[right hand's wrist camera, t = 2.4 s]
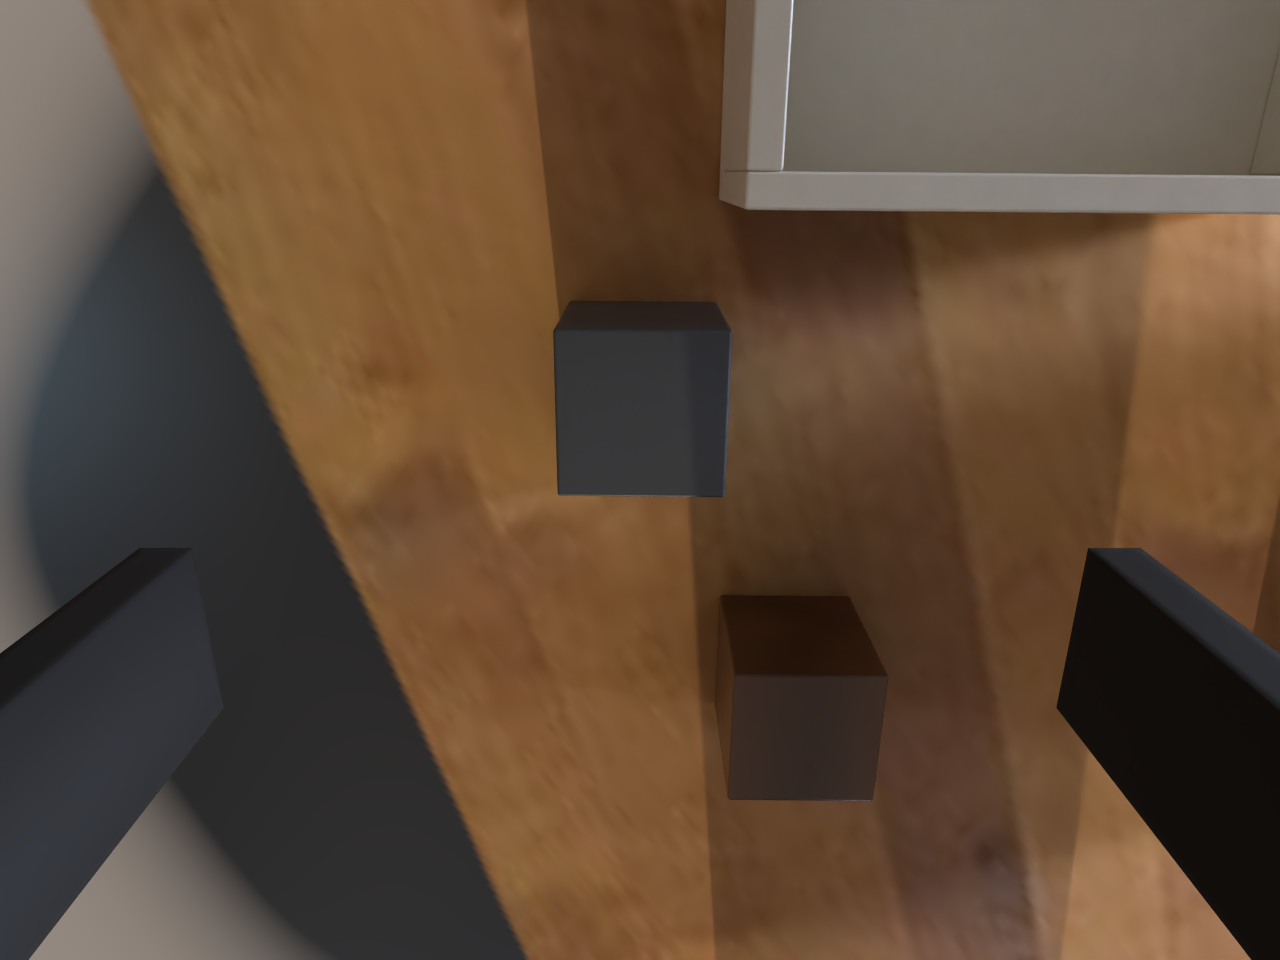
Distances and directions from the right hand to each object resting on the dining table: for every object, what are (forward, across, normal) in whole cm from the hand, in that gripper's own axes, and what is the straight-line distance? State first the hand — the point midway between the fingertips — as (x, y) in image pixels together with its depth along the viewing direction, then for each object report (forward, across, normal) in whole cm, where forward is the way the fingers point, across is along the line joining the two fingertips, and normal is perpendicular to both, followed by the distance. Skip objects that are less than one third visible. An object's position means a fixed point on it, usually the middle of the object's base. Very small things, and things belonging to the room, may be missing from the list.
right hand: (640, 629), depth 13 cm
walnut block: (+15, -5, +10) cm, 19 cm away
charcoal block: (+15, 0, 0) cm, 15 cm away
